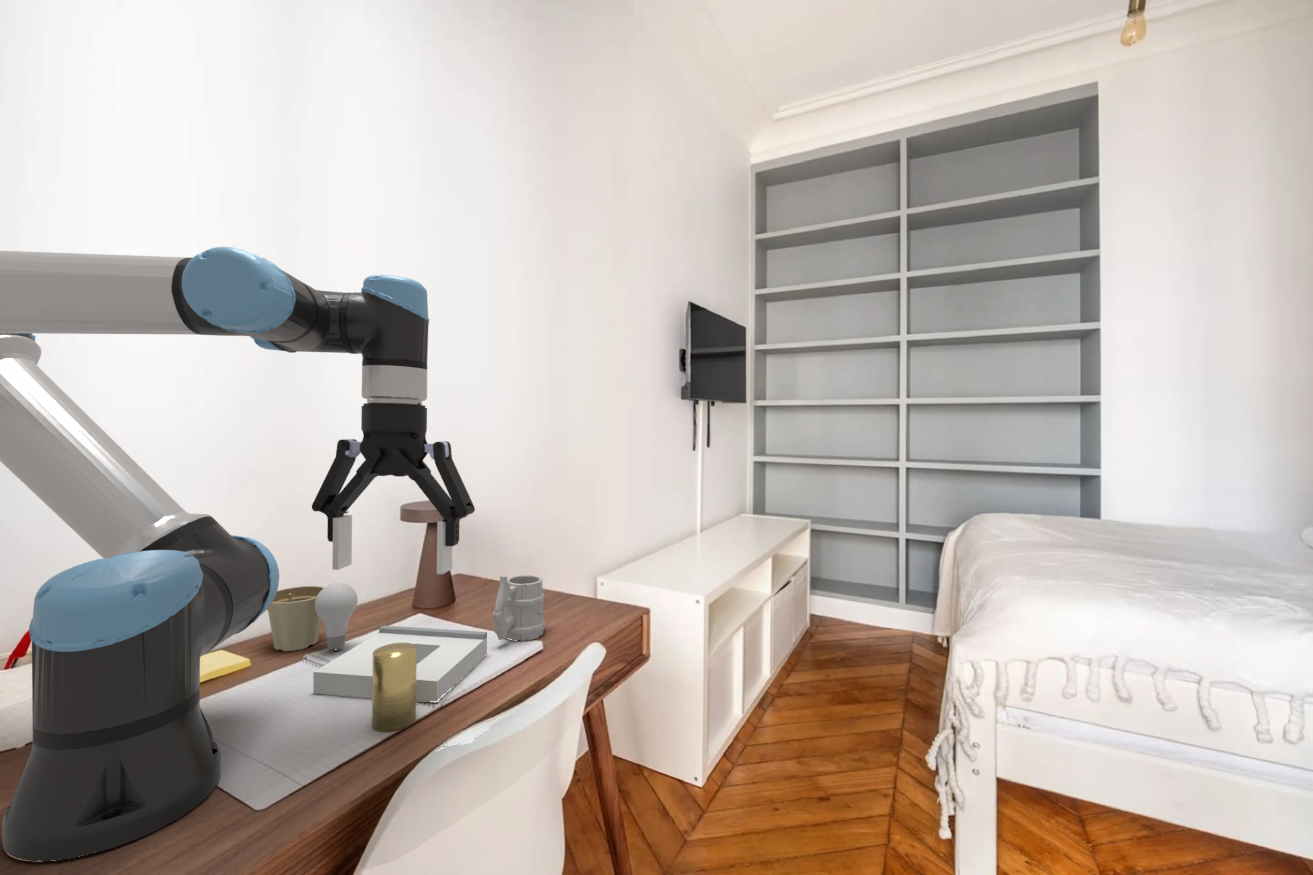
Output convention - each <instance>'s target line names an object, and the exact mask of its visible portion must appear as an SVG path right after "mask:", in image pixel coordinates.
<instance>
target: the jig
mask: <svg viewBox="0 0 1313 875" xmlns="http://www.w3.org/2000/svg"><path fill="white" fill-rule="evenodd" d="M393 643H411V644H414V645H416V647H417V668H416V703H425V702H430V701H437V700H438V699H439V698H440V697H441V696H442V695H443V694H445V693H446V692H447V691H448V690H449V689H450V688H452V687H453V686H454V685H455V684H456V683H457V682H458V681H460V680H461V678H463V677H464V676H465V675H466V674H467V673H468V672H469V671H470V670H471V671H472V670H473V669H475V667H476V666H477V665H478V664H480V662H482V661H483V659H484V658H485V657H484V656H485V655H488V632H487V631H475V630H460V629H445V628H431V627H430V628H429V627H428V628H427V627H412V626H396V625H381V626H379V628H378V633H376V634H374V636H371V637H370V638H368V639H366V640H365V641H362V643H360V644H358V645H356V646H354V647H353V648H352V649H349V650H348V651H346V652H345V653H343V654H341V655H340V656H338V657H336V658H335V659H333V660H331V661H330V662H327V663H326V664H324V665H323V666H321V667H319V668H318V669H316V670H314V671H313V673H312V674H313V681H312V684H313V685H312V686H313V687H312V692H313V693H312V694H316V695H327V696H328V695H329V696H338V697H340V696H341V697H350V698H351V697H354V698H366V699H372V679H373V652H374V651H375V650H376V649H377V648H379V647H382V646H385V645H388V644H393ZM483 657H484V658H483ZM471 671H470V672H471ZM470 672H469V673H470ZM469 673H468V674H469ZM468 674H467V675H468ZM467 675H466V676H467ZM466 676H465V677H466ZM465 677H464V678H465ZM464 678H463V679H464ZM461 681H462V680H461ZM461 681H460V682H461ZM454 687H455V686H454ZM454 687H453V688H454ZM453 688H452V689H453Z"/></svg>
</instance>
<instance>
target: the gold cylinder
mask: <svg viewBox="0 0 1313 875" xmlns="http://www.w3.org/2000/svg"><path fill="white" fill-rule="evenodd" d="M417 664H418V663H417V647H416V645H414V644H411V643H393V644H388V645H385V646H382V647H379V648H377V649H376V650H375V651H374V652H373V679H372V698H371V699H372V700H371V701H372V703H371V705H372V706H371V727H372V730H375V731H376V732H379V733H391V732H392V733H393V732H397V731H402V730H404V729H406V728H408V727H409V726H411V725H412V724H414V722H415V721H416V718H417V702H416V668H417Z"/></svg>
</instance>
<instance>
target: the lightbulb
mask: <svg viewBox="0 0 1313 875" xmlns="http://www.w3.org/2000/svg"><path fill="white" fill-rule="evenodd" d="M324 587H325V588H323V589H322V590H321V591H320V592H319V594H318V595H317V597H316V600H315V610H316V612H317V614H318V616H319V617H320V619H321V623H322V624H323V627H324V635H325V636H326V645H327V649H329V650H332V651H333V650H335V649H339V650H340V649H341V648H343V647H344V646H345V644H346V633H347V632H348V627H349V626H348V625H349V622H350V619H351V617H352V615H353V614H354V612H355V610H356V607H357V605H358V594H357V592H356V590H355V589H354V588H353V587H352V586H350V584H346V583H343V582H335V583H332V584H329V585H327V586H324Z"/></svg>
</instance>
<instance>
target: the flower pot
mask: <svg viewBox="0 0 1313 875" xmlns="http://www.w3.org/2000/svg"><path fill="white" fill-rule="evenodd" d="M325 587H326V586H321V585H303V586H302V585H301V586H293V587H287V588H282V589H278V590H277V593H276V596H275V598H274V600H273V601H272V603H271V605H270V606H269V607H268V608H267V610H266V611H267V614H268V618H269V623H270V624H269V625H270V630H271V635H272V636H271V637H272V642H273V649H275V650H276V651H280V650H281V651H282V652H293V651H301V650H305V649H307V648H308V647H310V645H313V646H315V644H317V642H319V636H320V635H319V634H320V628H321V623H322V620H321V619H320V617H319V616H318V614H317V612H316V610H315V600H316V597H317V595H318V594H319V592H320V591H321V590H322V589H323V588H325Z"/></svg>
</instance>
